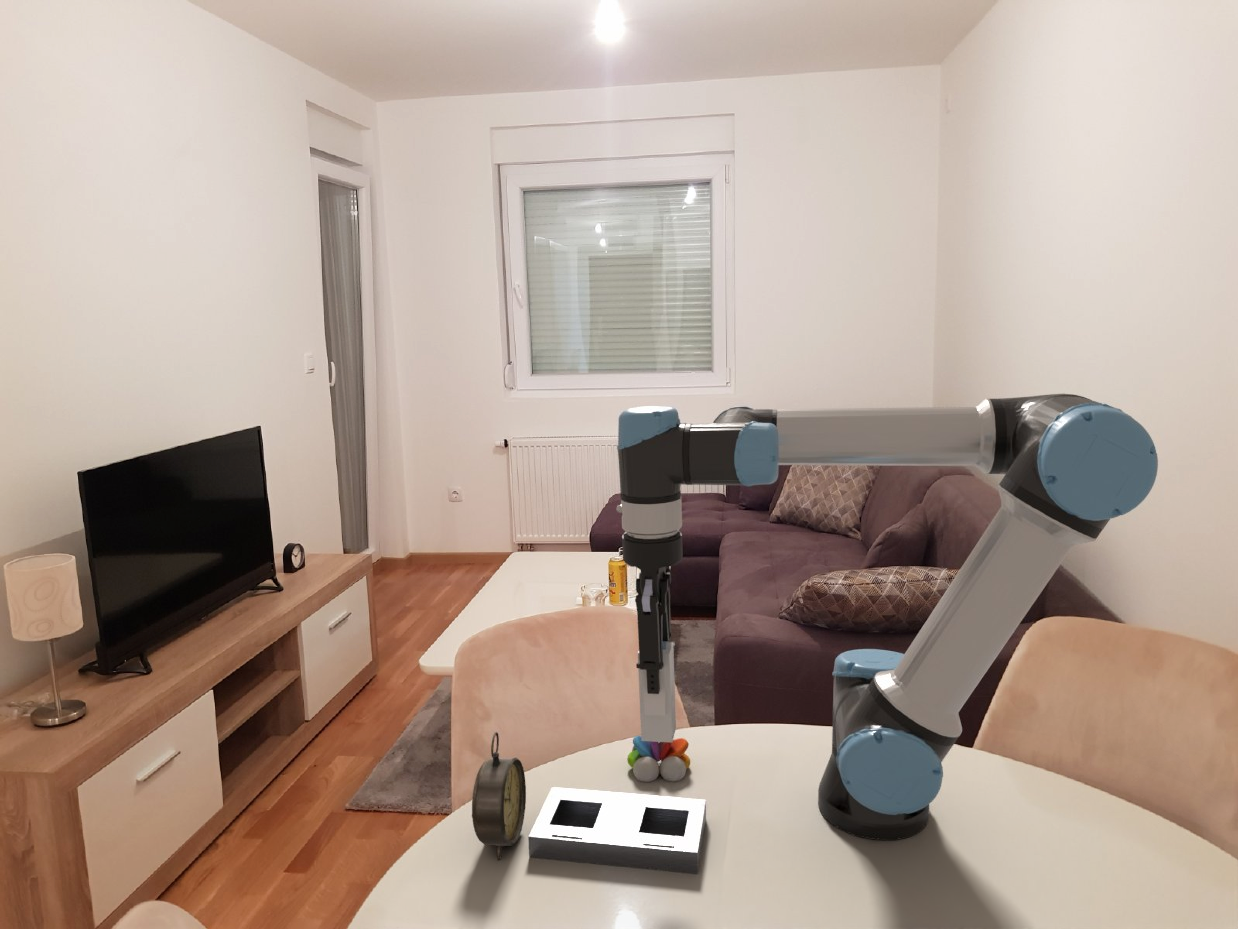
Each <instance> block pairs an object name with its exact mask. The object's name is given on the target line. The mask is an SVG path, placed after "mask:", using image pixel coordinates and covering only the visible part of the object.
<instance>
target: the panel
mask: <svg viewBox="0 0 1238 929" xmlns="http://www.w3.org/2000/svg"><path fill="white" fill-rule="evenodd" d="M706 822H707V799H702V798H691V797H680V796H679V797H677V796H667V795H666V796H665V795H654V794H641V793H630V792H629V793H628V792H620V791H619V792H618V791H607V790H606V791H605V790H596V789H595V790H594V789H583V788H571V787H569V788H568V787H559V786H558V787H557V786H552V787H551V788H550V790H549V793H548V794H547V797H546V799H545V801H544V802H543V805H542V807H541V809H540V812H539V813H538V815H537V818H536V820H535V822H534V824H533V826H532V828H531V830H530V832H529V834H528V855H529V858H530V859H540V860H549V861H561V862H570V863H578V864H579V863H580V864H582V863H583V864H592V865H600V866H611V867H619V868H629V869H639V870H640V869H642V870H651V871H660V872H661V871H662V872H668V873H669V872H670V873H671V872H672V873H680V874H681V873H682V874H690V875H698V873H699V868H700V860H701V854H702V847H703V842H704V841H703V839H704V834H705V828H706Z"/></svg>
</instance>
